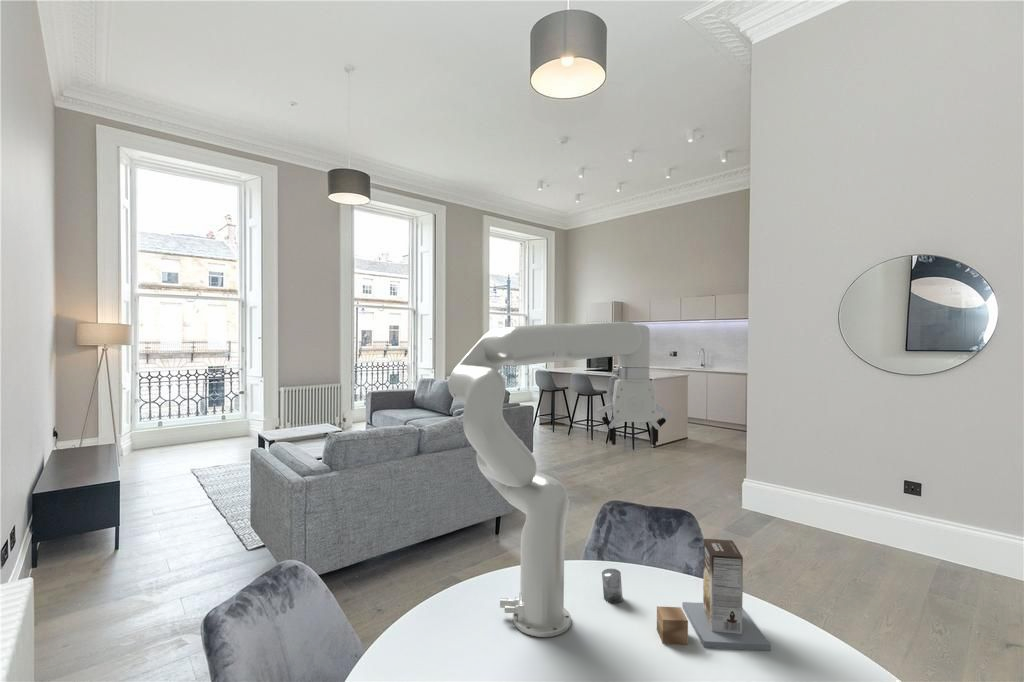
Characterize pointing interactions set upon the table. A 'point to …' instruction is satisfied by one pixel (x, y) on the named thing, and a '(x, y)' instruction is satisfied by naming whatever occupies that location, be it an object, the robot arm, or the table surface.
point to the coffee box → (723, 585)
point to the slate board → (708, 638)
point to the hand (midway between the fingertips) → (633, 444)
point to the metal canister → (612, 585)
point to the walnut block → (672, 625)
